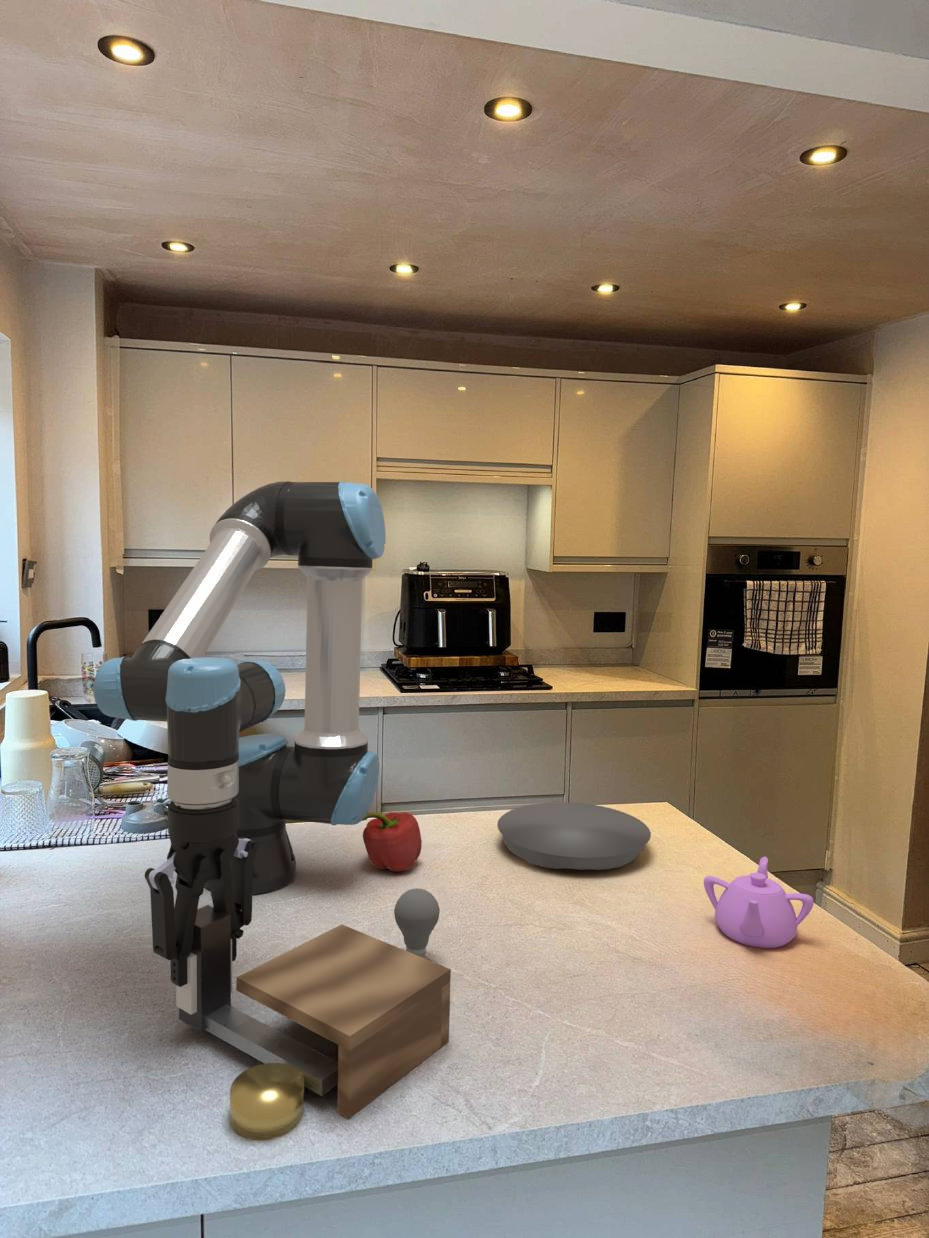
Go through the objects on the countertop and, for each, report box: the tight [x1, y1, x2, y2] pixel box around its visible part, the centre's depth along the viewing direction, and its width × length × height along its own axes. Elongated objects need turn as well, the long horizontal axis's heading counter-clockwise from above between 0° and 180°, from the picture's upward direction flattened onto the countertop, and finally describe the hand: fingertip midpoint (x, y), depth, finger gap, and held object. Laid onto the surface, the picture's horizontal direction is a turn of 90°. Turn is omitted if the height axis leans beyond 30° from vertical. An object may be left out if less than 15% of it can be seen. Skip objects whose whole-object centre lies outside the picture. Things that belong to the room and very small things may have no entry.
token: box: [229, 1063, 305, 1141], centre depth 80 cm, size 7×7×3 cm
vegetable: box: [361, 811, 423, 873], centre depth 141 cm, size 11×10×10 cm
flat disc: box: [496, 801, 652, 871], centre depth 152 cm, size 28×28×4 cm
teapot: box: [703, 856, 815, 949], centre depth 121 cm, size 12×14×9 cm
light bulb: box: [393, 888, 440, 959], centre depth 109 cm, size 6×6×10 cm
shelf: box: [235, 924, 452, 1120], centre depth 91 cm, size 17×16×8 cm
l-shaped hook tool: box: [178, 904, 338, 1097], centre depth 88 cm, size 22×4×12 cm, turn 55°
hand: (204, 999), depth 93 cm, fingers closed on l-shaped hook tool, 4 cm apart
